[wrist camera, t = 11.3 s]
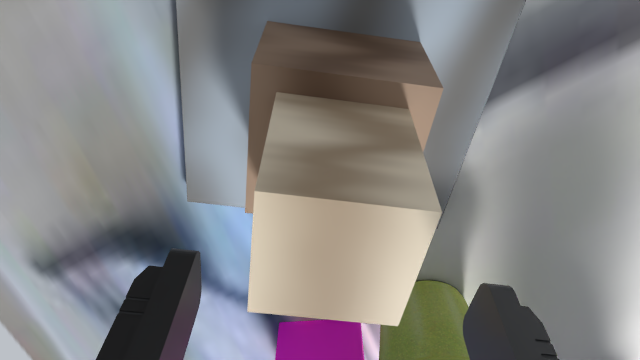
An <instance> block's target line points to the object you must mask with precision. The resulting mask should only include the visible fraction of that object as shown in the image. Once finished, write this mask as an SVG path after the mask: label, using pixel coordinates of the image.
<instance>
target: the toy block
mask: <svg viewBox="0 0 640 360" xmlns="http://www.w3.org/2000/svg"><path fill="white" fill-rule="evenodd" d="M275 360H364V351H363V341H362V331H361V323H359V322H349V321H338V320H312V321H295V322H279V330H278V339H277V348H276V358H275Z"/></svg>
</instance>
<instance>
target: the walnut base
mask: <svg viewBox="0 0 640 360" xmlns="http://www.w3.org/2000/svg"><path fill="white" fill-rule="evenodd" d="M525 2H526V0H176V10H177V28H178V45H179V63H180V80H181V97H182V115H183V132H184V149H185V167H186V184H187V201H188V202H197V203H207V204H216V205H225V206H234V207H243V208H245V213H253V208H254V191H255V186H256V182H257V177H258V173H259V169H260V164H261V160H262V155H263V151H264V146H265V142H266V137H267V133H268V128H269V124H270V119H271V115H272V110H273V106H274V101H275V97H276V92H280V93H288V94H296V95H304V96H311V97H319V98H327V99H335V100H342V101H350V102H358V103H366V104H373V105H381V106H389V107H397V108H404V109H409V110H410V113H411V117H412V120H413V123H414V126H415V129H416V132H417V135H418V138H419V141H420V145H421V148H422V151H423V154H424V157H425V160H426V163H427V166H428V170H429V173H430V176H431V179H432V182H433V185H434V188H435V191H436V195H437V198H438V201H439V204H440V207H441V210H442V214H441V217H440V220H441V218H442V215H443V213H444V210H445V207H446V205H447V202H448V200H449V197H450V195H451V192H452V189H453V187H454V184H455V182H456V179H457V177H458V174H459V171H460V169H461V166H462V164H463V161H464V159H465V156H466V153H467V151H468V148H469V146H470V143H471V141H472V138H473V135H474V133H475V130H476V128H477V125H478V123H479V120H480V117H481V115H482V112H483V110H484V107H485V105H486V102H487V99H488V97H489V94H490V92H491V89H492V87H493V84H494V81H495V79H496V76H497V74H498V71H499V69H500V66H501V63H502V61H503V58H504V56H505V53H506V51H507V48H508V45H509V43H510V40H511V38H512V35H513V32H514V30H515V27H516V25H517V22H518V20H519V17H520V14H521V12H522V9H523V7H524V4H525ZM440 220H439V222H438V225H439V223H440ZM438 225H437V227H436V229H437V228H438Z"/></svg>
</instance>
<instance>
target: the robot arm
mask: <svg viewBox="0 0 640 360" xmlns="http://www.w3.org/2000/svg"><path fill="white" fill-rule="evenodd" d="M200 298H201V260H200V252H199V251H192V250H183V249H173V248H172V249H171V250H170V252H169V254H168V256H167V259H166V261H165V264H164V266H163V267H157V266H148V267H147V268H146V269H145V270H144V271H143V272H142V273H141V274H139V275H138V276H137V277H136V278H135V279H134V281H133V283H132V285H131V287H130V289H129V291H128V293H127V295H126V299H125V300H124V302H123V304H122V306H121V308H120V311H119V314H117V316H116V319H115V321H114V323H113V325H112V327H111V329H110V331H109V333H108V335H107V337H106V339H105V342H104V344H103V346H102V348H101V350H100V352H99V354H98V356H97V358H96V360H183V358H184V355H185V351H186V348H187V345H188V342H189V338H190V335H191V332H192V328H193V325H194V322H195V318H196V315H197V312H198V308H199V304H200ZM463 337H464V341H465V344H466V348H467V351H468V355H469V358H470V360H559V359H557V354H556V352H555V350H554V348H553V345H552V344H550V339H549V337H548V335H547V332H546V330H545V328H544V326H543V324H542V322H541V321H540V320H539V319H538V318H537V317H536V315H535V314H534V313H533V312H532V311H531V310H530V309H529V307H525V306H520V304H519V301H518V299H517V297H516V294H515V292H514V290H513V289H512V288H511V287H510V286H505V285H496V284H487V283H483V284H481V285H480V287H479V288H478V290H477V292H476V294H475V296H474V298H473V300H472V302H471V304H470V306H469V308H468V310H467V312H466V314H465V316H464V320H463Z"/></svg>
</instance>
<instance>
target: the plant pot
mask: <svg viewBox="0 0 640 360" xmlns="http://www.w3.org/2000/svg"><path fill="white" fill-rule="evenodd" d="M468 308H469V307H468V305H467V303H466V301H465V299H464V298H463V296H462V295H461V294H460V293H459V292H458V290H457V289H456V288H454V287H453V286H451V285H449V284H446V283H443V282H438V281H416V282H415V284H414V287H413V289H412V292H411V294H410V297H409V299H408V302H407V305H406V307H405V310H404V312H403V315H402V318H401V320H400V323H399V325H398V326H390V325H381V327H380V351H379V360H470V358H469V355H468V351H467V348H466V344H465V341H464V337H463V320H464V316H465V314H466V312H467V310H468Z"/></svg>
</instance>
